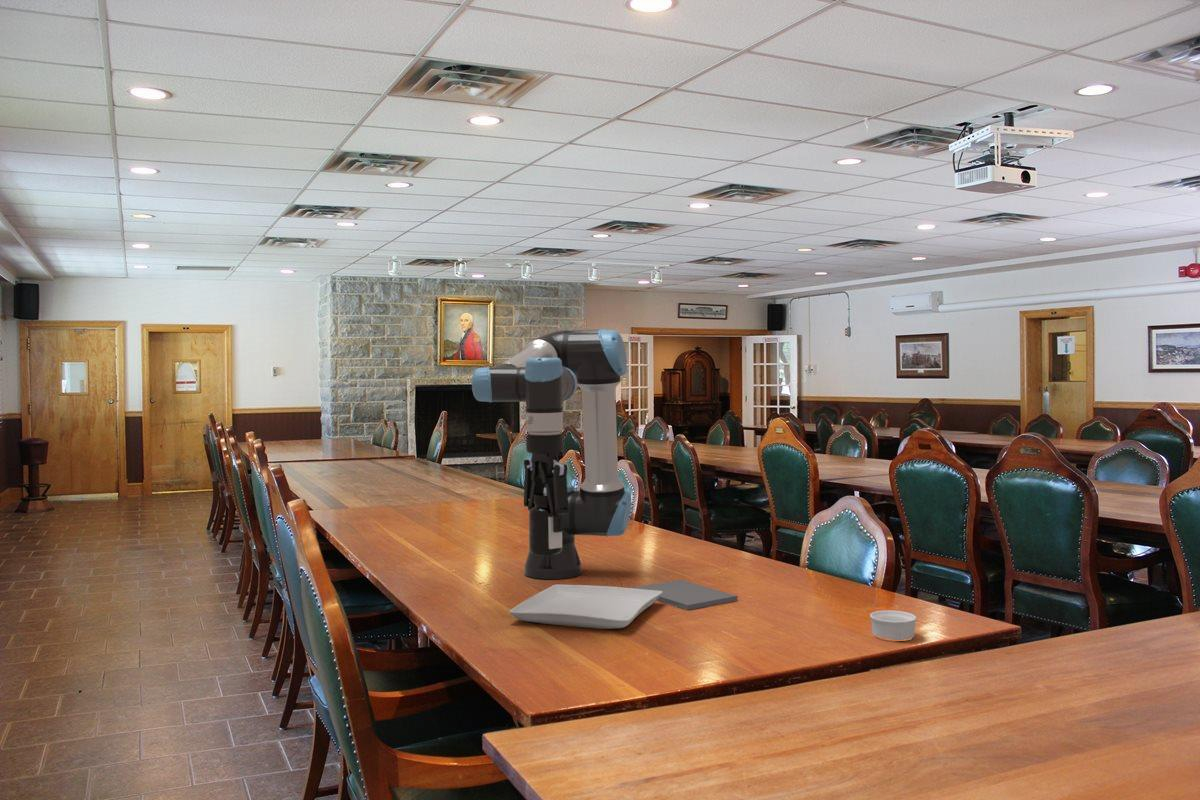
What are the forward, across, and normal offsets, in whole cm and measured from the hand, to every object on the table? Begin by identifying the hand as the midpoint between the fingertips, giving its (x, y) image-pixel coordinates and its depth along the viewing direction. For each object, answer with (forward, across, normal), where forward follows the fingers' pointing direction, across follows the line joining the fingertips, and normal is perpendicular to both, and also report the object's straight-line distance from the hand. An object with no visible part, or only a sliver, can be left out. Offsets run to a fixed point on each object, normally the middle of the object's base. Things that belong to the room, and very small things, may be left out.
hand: (546, 544), depth 187 cm
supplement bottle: (+2, 0, 0) cm, 2 cm away
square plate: (+19, -7, +14) cm, 25 cm away
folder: (+19, -7, +42) cm, 46 cm away
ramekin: (+19, +43, +55) cm, 72 cm away
